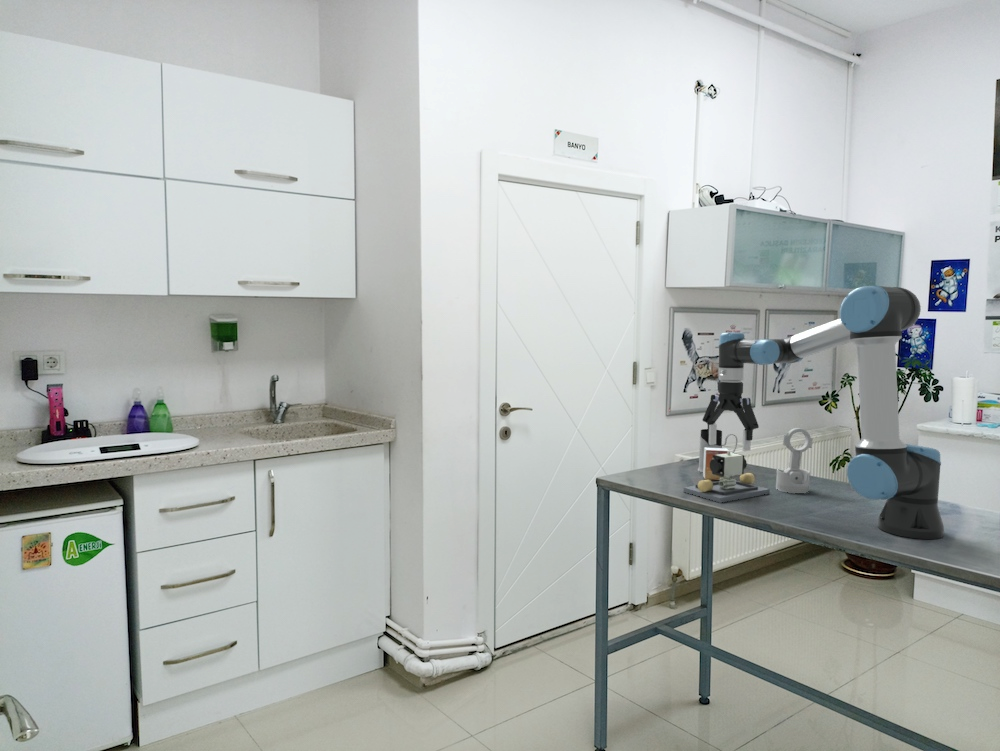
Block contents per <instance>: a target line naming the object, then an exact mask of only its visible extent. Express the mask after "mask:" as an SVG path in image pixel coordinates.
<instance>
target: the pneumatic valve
mask: <svg viewBox="0 0 1000 751" xmlns="http://www.w3.org/2000/svg"><path fill="white" fill-rule="evenodd" d="M747 465H748V463H747V460H746V458H745V455H744V454H740V453H737V452H734V453H732V452H731V451H730V450H729V451H728V452H727V454H717V455H713V458H712V460H711V461H710V464H709V466H710V470H711V471H712V474H714V475H718V476H721V478H720V480H718V481H719V487H720V488H724V489H726V490H730V489H735V485H736V481H737V480H736V478H734V477H735V476H741V475H742V474H745V472H744V471H745V469H746V468H747ZM725 476H726V477H725ZM735 480H736V481H735Z"/></svg>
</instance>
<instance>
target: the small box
mask: <svg viewBox="0 0 1000 751" xmlns="http://www.w3.org/2000/svg"><path fill="white" fill-rule="evenodd" d="M728 451H729V452H730V450H729V449H728V448H726V447H722V448H707V447H704V464H703V473H702V476H703V479H704V480H708V479H709V480H716V481H720V478H721V476H718V475H714V474H712V471H711V470H710V466H709V464H710V461H711V460H712V458H713V455H717V454H727V452H728ZM725 477H726V476H725Z"/></svg>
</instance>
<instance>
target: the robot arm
mask: <svg viewBox="0 0 1000 751" xmlns="http://www.w3.org/2000/svg"><path fill="white" fill-rule="evenodd" d="M841 302H842V303H841V305H840V308H839V318H837V319H834V320H831V321H828V322H826V323H823V324H820V325H817V326H815V327H813V328H810V329H807V330H803V331H801V332H798V333H796V334H793V335H791V336H787V337H786V338H774V339H773V338H768V339H767V338H764V339H763V338H760V339H759V338H758V339H757V338H755V339H754V338H751V339H750V338H749V339H748V338H745V333H743V332H721V333H720V335H719V342H718V380H719V381H718V382H717V385H718V386H717V392H718V393H717V394H711V396H710V400H709V403H708V406H707V407H706V410H705V413H704V415H703V417H702V422H704V423H706V424H707V429H708V434H709V445H713V444H716V430H717V429H718V428H717V424H716V422H717V420H718V419H719V418H720V416H721V415H722V414H723V413H724V411H730V412H734V413H735V414H736V415H737V417H738V419H739V421H740V423H741V424H742V425H743V427H744V429H742V451H743V452H748V451H751V442H752V440H753V436H754V435H753V432H754V430H756V429H759V426H760V425H759V424H758V421H757V417H756V416H755V412H754V410H753V407H752V403H751V401H752V400H751V397H742V395H743V393H744V383H743V382H742V381H744V368H745V367H744V365H745V364H751V365H752V364H754V365H761V366H764V365H765V366H766V365H772V364H793V363H799V362H801V361H802V360H803V359H804V358H806V357H809V356H812V355H815V354H819V353H821V352H822V353H823V352H826V351H829V350H831V349H835V348H837V347H840V346H844V345H847V344H850V343H853V344H854V345H855V346H856V349H857V350H856V351H857V352H856V353H857V367H858V368H857V371H858V372H857V374H858V391H859V392H858V394H859V395H858V396H859V412H860V413H859V414H860V433H861V435H860V436H861V438H860V440H859V441H858V442H857V443H856V444H855V445H854V446H855V456H853V458H851V461H849V462H848V465H847V466H846V467H847V468H846V476H847V480H848V482H849V485H850V486H851V487H852V489H853V490H854V491H856V492H857V493H858V495H860V496H861V497H863V498H866V499H868V500H873V501H874V500H875V501H878V500H883V501H884V502H885V503H884V504H883V507H882V509H881V512H880V513H879V516H878V519H877V520H878V522H877V527H878V528H879V530H881V531H882V532H883V531H884V532H886V533H888V534H892V535H895V536H900V537H902V538H903V537H904V538H911V539H920V540H921V539H922V540H935V539H936V540H937V539H941V538H943V537H944V534H945V526H944V522H943V520H942V519H943V518H942V516H941V513H940V510H939V506H938V504H939V501H938V500H939V488H940V477H941V476H940V474H941V466H942V461H941V452H940V451H939V450H938V449H937V448H933V447H927V446H921V445H915V444H909V443H904V442H903V441H902V440H901V438H900V420H899V401H898V400H899V399H898V398H899V397H898V396H899V395H898V380H897V374H898V373H897V355H896V353H897V352H896V344H897V343H898V342H899V341H900V340H901V339H902V338H903V337H902V331H906V330H907V329H910V327H912V326H913V325H915V324H916V322H917V321H918V320H919V318H920V314H921V307H922V306H921V303H920V300H919V298H918V297H917V295H916V294H915V293H913V292H912V291H911V290H909V289H906V288H904V287H899V286H883V285H882V286H879V285H868V286H867V285H866V286H860V287H857V288H855V289H853V290H851V291H850V292H849V293H848V294H847V295H846V296H845V297H844V298H843V300H842V301H841Z"/></svg>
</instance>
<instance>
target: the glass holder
mask: <svg viewBox="0 0 1000 751" xmlns="http://www.w3.org/2000/svg"><path fill="white" fill-rule="evenodd" d="M730 436H733V437H735V445H734V448H733V450H732V452H731V453H736V452H735V451H736V450H737V446H738V437H737V436H736V435H735V434H733V433H729V434H727V435H726V436H725V439H724V444H722V442H723V431H722V430H720V429H716V444H713V445H709V434H708V428H704V429H700V437H699V456H698V457H699V458H698V468H697V471H698V472H699V471H700V473H702V472H703V464H704V447H707V448H723V447H724V446H726V445H727V440H728V438H729V437H730Z"/></svg>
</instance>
